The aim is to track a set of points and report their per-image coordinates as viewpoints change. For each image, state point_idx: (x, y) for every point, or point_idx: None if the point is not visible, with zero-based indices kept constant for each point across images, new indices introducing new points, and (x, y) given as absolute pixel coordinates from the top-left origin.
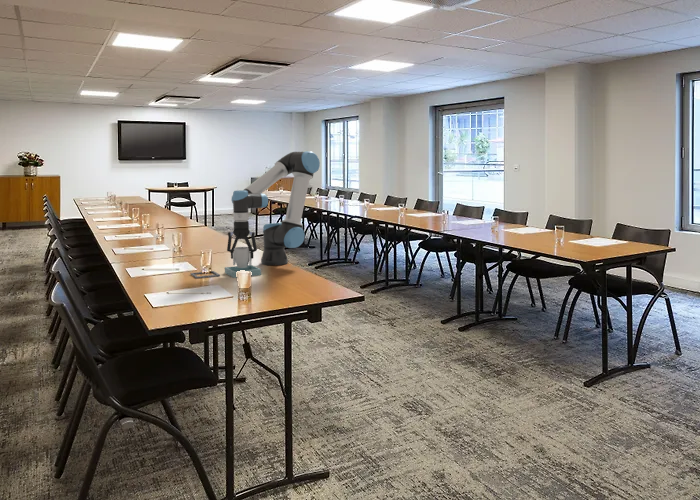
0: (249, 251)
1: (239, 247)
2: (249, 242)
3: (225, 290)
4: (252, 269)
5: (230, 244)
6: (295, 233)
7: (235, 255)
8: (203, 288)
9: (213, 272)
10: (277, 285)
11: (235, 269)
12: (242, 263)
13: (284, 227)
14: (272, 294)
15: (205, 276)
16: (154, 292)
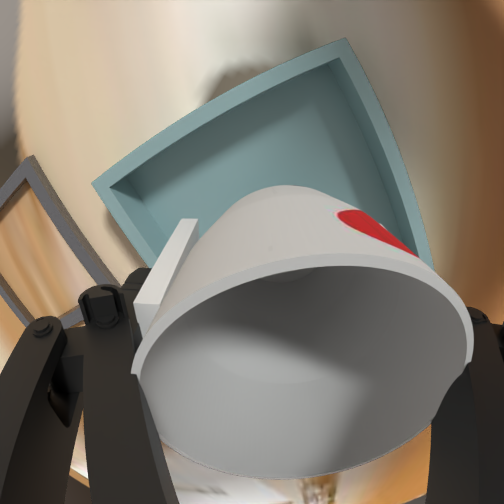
0: (426, 358)
1: (219, 285)
2: (502, 466)
3: (258, 482)
4: (355, 109)
5: (48, 450)
6: None
7: (209, 375)
8: (176, 466)
9: (44, 206)
10: (429, 430)
11: (188, 134)
12: (296, 321)
13: None
14: (386, 483)
15: (65, 328)
16: (75, 462)
